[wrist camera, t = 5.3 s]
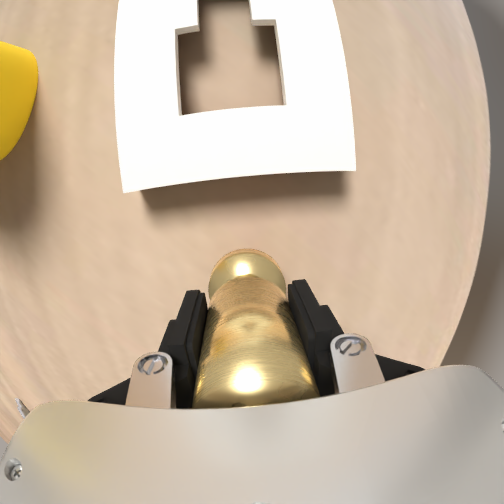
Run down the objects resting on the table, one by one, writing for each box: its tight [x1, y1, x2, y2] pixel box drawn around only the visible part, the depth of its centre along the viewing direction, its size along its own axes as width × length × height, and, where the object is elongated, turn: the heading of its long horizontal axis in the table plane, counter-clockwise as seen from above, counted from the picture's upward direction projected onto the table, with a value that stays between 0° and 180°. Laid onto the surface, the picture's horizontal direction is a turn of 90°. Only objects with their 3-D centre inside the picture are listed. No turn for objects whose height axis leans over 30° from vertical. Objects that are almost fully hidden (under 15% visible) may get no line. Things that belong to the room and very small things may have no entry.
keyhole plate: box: [114, 0, 356, 193], centre depth 11 cm, size 18×12×2 cm, turn 5°
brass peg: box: [192, 249, 320, 409], centre depth 11 cm, size 4×4×9 cm
